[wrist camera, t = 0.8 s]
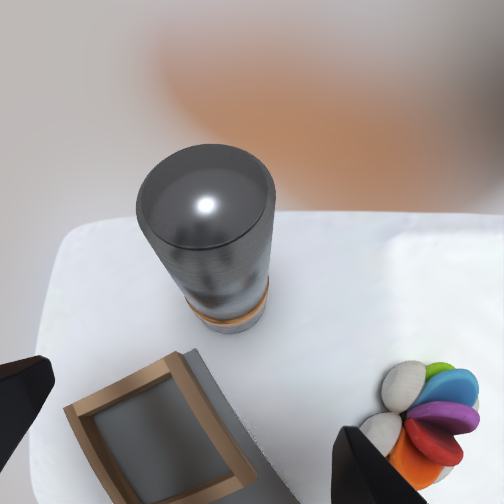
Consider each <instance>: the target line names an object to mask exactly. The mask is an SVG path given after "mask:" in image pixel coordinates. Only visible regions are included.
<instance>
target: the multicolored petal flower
mask: <svg viewBox="0 0 504 504" xmlns="http://www.w3.org/2000/svg"><path fill="white" fill-rule="evenodd" d="M478 393H479V385H478V382H477V379H476V377H475V376H474V375H473V374H472V373H471V372H470V371H469V370H466V369H455V368H454V367H453V366H452V365H450V364H448V363H443V362H438V363H433V364H430V365H428V366H427V367H425V365H424V364H423V363H421V362H419V361H405V362H402V363H400V364H398V365H396V366H395V367H394V368H392V369H391V370H390V372H389V373H388V374H387V376H386V378H385V379H384V382H383V385H382V399H383V402H384V404H385V406H386V407H387V409H388V410H389V411H390V412H387V413H379V414H376V415H374V416H372V417H370V418H369V419H367V420H366V421H365V422H364V423H363V424H362V426H361V427H360V428H359V429H360V430H361V431H362V432H363V433H364V435H365V436H366V437H367V438H368V439H369V440H370V441H371V442H372V443H373V445H374V446H375V447H376V448H377V449H378V450H379V451H380V452H381V453H382V454H383V455H384V457H385V458H386V459H387V460H388V461H389V462H390V463H391V464H392V465H393V466H394V467H395V468H396V470H397V471H398V472H399V473H400V474H401V475H402V476H403V477H404V478H405V479H406V480H407V481H408V482H409V483H410V484H411V486H412V487H413V488H414V489H415V490H416V491H418V490H422V489H424V488H426V487H428V486H430V485H431V484H434V483H437V482H439V481H441V480H442V479H444V478H445V477H446V476H447V475H448V474H449V473H450V472H451V471H452V469H453V467H454V466H455V465H458V464H459V463H460V462H461V460H462V458H463V450H462V448H461V447H460V445H459V444H458V442H457V441H456V440H455V438H454V435H459V434H465V433H470V432H472V431H474V430H475V429H476V428H477V426H478V424H479V421H480V416H479V414H478V408H479V400H478ZM402 412H405V413H407V420H406V421H405V422H404V423H402V419H401V417H400V416H399V414H400V413H402Z"/></svg>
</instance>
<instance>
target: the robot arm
mask: <svg viewBox="0 0 504 504" xmlns="http://www.w3.org/2000/svg"><path fill="white" fill-rule="evenodd" d="M54 384H55V377H54V373H53V369H52V365H51V362H50V360H49V359H48V358H45V357H43V356H41V355H37V356H34V357H30V358H26V359H22V360H18V361H14V362H10V363H6V364H2V365H0V472H1V471H2V469H3V468H4V466H5V464H6V463H7V461H8V460H9V458H10V457H11V455H12V453H13V452H14V450H15V449H16V447H17V446H18V444H19V443H20V441H21V440H22V438H23V436H24V435H25V434H26V432H27V431H28V429H29V428H30V426H31V425H32V423H33V422H34V420H35V419H36V417H37V415H38V413H39V412H40V410H41V408H42V406H43V404H44V402H45V401H46V399H47V397H48V395H49V393H50V392H51V390H52V388H53V386H54ZM331 504H427V501H426V500H425V499H424V498H423V497H422V496H421V495H420V494H419V493H418V492H417V491H416V490H415V489H414V488H413V487H412V486H411V484H410V483H409V482H408V481H407V480H406V479H405V478H404V477H403V476H402V475H401V474H400V473H399V472H398V471H397V470H396V468H395V467H394V466H393V465H392V464H391V463H390V462H389V461H388V460H387V459H386V458H385V457H384V455H383V454H382V453H381V452H380V451H379V450H378V449H377V448H376V447H375V446H374V445H373V443H372V442H371V441H370V440H369V439H368V438H367V437H366V436H365V435H364V433H363V432H362V431H361V430H360V429H359V428H358V427H357V426H343V427H342V428H341V429H340V431H339V433H338V436H337V438H336V440H335V442H334V445H333V450H332V479H331Z"/></svg>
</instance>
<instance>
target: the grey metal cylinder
mask: <svg viewBox="0 0 504 504" xmlns="http://www.w3.org/2000/svg"><path fill="white" fill-rule="evenodd" d="M275 201H276V191H275V185H274V182H273V179H272V177H271V174H270V173H269V171H268V169H267V168H266V167H265V165H263V163H262V162H261V161H260V160H259V159H257V158H256V157H254V156H253V155H252V154H250V153H248V152H247V151H244V150H242V149H239V148H236V147H233V146H228V145H222V144H202V145H196V146H191V147H188V148H185V149H182V150H180V151H178V152H176V153H174V154H172V155H170V156H169V157H167V158H166V159H164V160H163V161H161V162H160V163H159V164H158V165H157V166H156V167H154V169H153V170H152V171H151V172H150V173H149V174H148V175H147V177H146V178H145V180H144V182H143V183H142V185H141V188H140V190H139V193H138V197H137V201H136V215H137V220H138V223H139V226H140V228H141V230H142V232H143V234H144V235H145V237H146V238H147V240H148V242H149V243H150V245H151V246H152V248H153V249H154V251H155V253H156V254H157V256H158V257H159V259H160V260H161V262H162V263H163V265H164V266H165V268H166V269H167V271H168V272H169V274H170V275H171V277H172V278H173V280H174V281H175V283H176V284H177V286H178V287H179V288H180V290H181V291H182V293H183V294H184V296H185V299H186V301H187V303H188V304H189V306H190V307H191V308H192V310H193V311H194V312H195V314H196V315H197V316H198V317H199V318H201V320H202V321H203V322H204V323H205V324H206V325H207V326H208V327H210V328H211V329H213V330H215V331H217V332H220V333H225V334H234V333H239V332H242V331H245V330H247V329H249V328H250V327H252V326H253V325H254V324H255V323H256V322H257V321H258V320H259V318H260V316H261V315H262V312H263V310H264V306H265V301H266V298H267V293H268V285H269V276H268V270H269V261H270V251H271V241H272V231H273V221H274V211H275Z"/></svg>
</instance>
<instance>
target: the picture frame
mask: <svg viewBox="0 0 504 504" xmlns="http://www.w3.org/2000/svg"><path fill="white" fill-rule="evenodd" d="M63 410H64V412H65V414H66V417H67V419H68V421H69V423H70V426H71V428H72V430H73V432H74V434H75V436H76V438H77V440H78V442H79V444H80V446H81V448H82V450H83V452H84V454H85V456H86V458H87V460H88V462H89V463H90V465H91V467H92V469H93V470H94V472H95V474H96V476H97V477H98V479H99V481H100V482H101V484H102V486H103V487H104V489H105V490H106V492H107V494H108V495H109V497H110V498H111V500H112V501H113V503H114V504H300V503H299V502H298V501H297V500H296V498H295V497H294V496H293V494H292V493H291V492H290V491H289V489H288V488H287V487H286V485H285V484H284V483H283V481H282V480H281V479H280V478H279V476H278V475H277V473H276V472H275V471H274V469H273V468H272V467H271V465H270V464H269V463H268V461H267V460H266V458H265V457H264V456H263V454H262V453H261V451H260V450H259V448H258V447H257V446H256V444H255V443H254V441H253V440H252V438H251V437H250V435H249V434H248V432H247V431H246V429H245V428H244V426H243V425H242V423H241V422H240V420H239V419H238V417H237V416H236V414H235V413H234V411H233V410H232V408H231V406H230V405H229V403H228V402H227V400H226V398H225V397H224V395H223V394H222V392H221V390H220V389H219V387H218V385H217V384H216V382H215V381H214V379H213V377H212V376H211V374H210V372H209V370H208V369H207V367H206V365H205V364H204V362H203V360H202V358H201V357H200V355H199V353H198V351H197V350H196V349H193V350H191V351H189V352H187V353H186V354H184V355H182V354H180V353H179V352H177V351H175V352H173V353H171V354H169V355H167V356H166V357H164V358H162V359H160V360H158V361H156V362H154V363H152V364H151V365H149V366H147V367H145V368H143V369H141V370H139V371H137V372H135V373H133V374H131V375H129V376H128V377H126V378H124V379H122V380H120V381H118V382H116V383H114V384H112V385H110V386H108V387H106V388H104V389H102V390H100V391H98V392H96V393H94V394H92V395H90V396H87V397H85V398H83V399H81V400H79V401H77V402H75V403H73V404H71V405H69V406H67V407H64V408H63Z"/></svg>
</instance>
